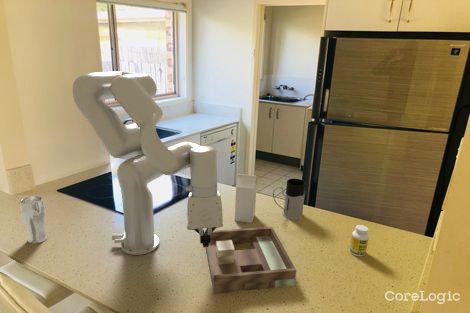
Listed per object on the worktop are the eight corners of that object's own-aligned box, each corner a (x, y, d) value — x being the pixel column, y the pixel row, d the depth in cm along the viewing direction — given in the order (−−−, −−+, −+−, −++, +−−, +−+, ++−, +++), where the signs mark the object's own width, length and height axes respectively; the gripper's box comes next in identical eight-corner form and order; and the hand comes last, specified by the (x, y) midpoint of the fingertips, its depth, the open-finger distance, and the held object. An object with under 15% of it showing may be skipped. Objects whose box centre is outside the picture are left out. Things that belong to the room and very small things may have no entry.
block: (218, 264, 100) (218, 250, 99) (215, 254, 105) (216, 241, 103) (234, 263, 101) (234, 249, 100) (231, 253, 106) (231, 240, 104)
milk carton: (252, 223, 129) (255, 179, 123) (234, 221, 131) (236, 177, 124) (254, 215, 136) (257, 172, 130) (237, 212, 137) (240, 170, 131)
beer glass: (54, 236, 115) (48, 198, 110) (35, 246, 109) (28, 206, 104) (40, 231, 118) (34, 193, 113) (21, 241, 112) (14, 201, 107)
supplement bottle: (357, 258, 110) (362, 233, 107) (345, 250, 115) (349, 225, 112) (368, 254, 113) (373, 229, 109) (356, 246, 117) (361, 222, 114)
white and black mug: (306, 218, 135) (311, 185, 130) (275, 222, 131) (278, 188, 126) (297, 209, 143) (300, 177, 138) (267, 212, 139) (269, 179, 134)
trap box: (213, 293, 92) (214, 277, 90) (205, 245, 114) (205, 231, 112) (294, 285, 96) (296, 270, 95) (270, 240, 119) (272, 226, 117)
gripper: (178, 196, 89) (180, 254, 95) (232, 192, 92) (231, 249, 97) (177, 185, 96) (180, 240, 102) (227, 182, 99) (227, 236, 104)
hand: (205, 244), depth 99 cm, fingers closed
